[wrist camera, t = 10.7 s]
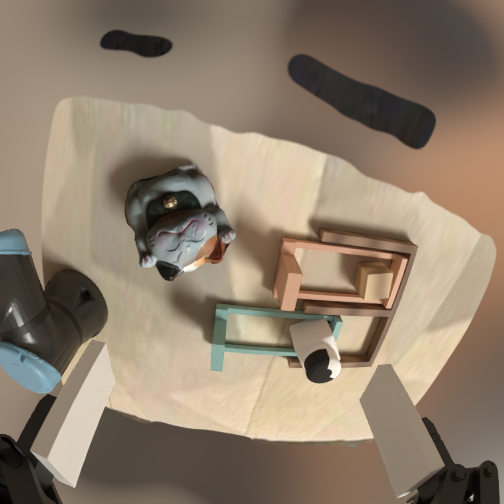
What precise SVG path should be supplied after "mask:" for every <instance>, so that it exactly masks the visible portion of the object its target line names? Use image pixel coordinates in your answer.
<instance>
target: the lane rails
mask: <svg viewBox="0 0 504 504" xmlns="http://www.w3.org/2000/svg"><path fill="white" fill-rule="evenodd" d="M318 237H319V238H320V239H321V241H324V242H332V243H339V244H347V245H354V246H362V247H369V248H376V249H383V250H390V251H397V252H404V253H403V256H404V257H406V258H407V259H408V260H407V264H406V267H405V270H404V273H403V276H402V279H401V282H400V285H399V288H398V290H397V293H396V296H395V299H394V301H393V304H392V307H391V308H385V307H384V305H383V304H375V303H356V302H339V301H324V300H310V299H304V300H303V304H302V307H303V310H304V313H308V314H325V315H346V316H375V317H381V320H380V322H379V325H378V327H377V329H376V332H375V334H374V337H373V339H372V341H371V344H370V346H369V348H368V350H367V353H366V355H339V356H340V360H339V361H340V364H341V368H353V367H371V366H372V364H373V362H374V360H375V358H376V356H377V354H378V352H379V350H380V347H381V345H382V343H383V341H384V339H385V336H386V334H387V332H388V329H389V327H390V325H391V322H392V320H393V318H394V315H395V313H396V310H397V307H398V305H399V302H400V300H401V297H402V294H403V292H404V289H405V286H406V283H407V280H408V277H409V274H410V271H411V268H412V265H413V262H414V259H415V256H416V252H417V249H418V246H416V245H415V244H413V243H412V242H408V241H402V240H396V239H390V238H384V237H378V236H371V235H365V234H358V233H352V232H345V231H339V230H332V229H325V228H320V229H319V234H318ZM288 364H289V368H302V365H301V363H300V361H299V358H298V356H288Z"/></svg>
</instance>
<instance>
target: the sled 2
mask: <svg viewBox="0 0 504 504" xmlns="http://www.w3.org/2000/svg"><path fill="white" fill-rule="evenodd" d="M295 248H304V249H313V250H321V251H329V252H337V253H345V254H353V255H362V256H370V257H377V258H385V259H393V261H392V265H391V268H390V270H391V271H392V272H393V277H392V283H391V288H390V293H389V298H385V299H376V300H368V301H364V300H363V299H362V297H361V296H360V295H356V294H342V293H329V292H316V291H304V290H299V289H300V284H301V280H302V275H303V274H302V272H301V269H300V267H299V265H298V263H297V261H296V259H295V256H294V253H295ZM407 260H408V259H407V258H406V257H404V256H403V255H402V254H400V253H395V252H388V251H381V250H374V249H366V248H359V247H352V246H344V245H337V244H329V243H321V242H313V241H305V240H297V239H289V238H282V243H281V248H280V254H279V259H278V265H277V270H276V276H275V281H274V287H273V292H272V293H273V298H274V299H278V300H279V304H280V309H281V310H285V311H294V310H295V306H296V301H297V298H302V299H315V300H329V301H344V302H362V303H382V304H383V305H384V307H385V308H391V307H392V304H393V301H394V299H395V296H396V293H397V290H398V288H399V285H400V282H401V279H402V276H403V273H404V270H405V267H406V264H407Z"/></svg>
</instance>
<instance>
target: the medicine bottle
mask: <svg viewBox="0 0 504 504" xmlns="http://www.w3.org/2000/svg"><path fill="white" fill-rule="evenodd" d="M289 329H290V333H291V337H292V341H293V345H294V349H295V352H296V354H297V356H298V358H299V361H300V363H301V365H302V368H303V370H304V372H305V373H306V375H307V378H308V379H309V380H310V381H311V382H314V383H325V382H329V381H331V380H332V379H334V378H335V377H336V376H337V375H338V374H339V372H340V370H341V364H340V361H339V360H340V356H339V352H338V349H337V346H336V342H335V339H334V336H333V333H332V331H331V329H330V326H329V324H328V322H327V320H326V318H322V319H319V320H311V319H307V320H304V321H301V322H299V323H296V324H293V325H291V326H289Z"/></svg>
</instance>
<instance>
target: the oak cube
mask: <svg viewBox="0 0 504 504" xmlns="http://www.w3.org/2000/svg"><path fill="white" fill-rule="evenodd" d="M392 277H393V272H392V271H391V270H390V269H389V268H388V267H387V266H386V265H385V264H384V263H382V262H368V263H358V265H357V273H356V281H355V289H356V290H357V292H358V293H359V294H360V296H361V297H362V299H363V300H364V301H368V300H376V299H385V298H389V293H390V288H391V283H392Z"/></svg>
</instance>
